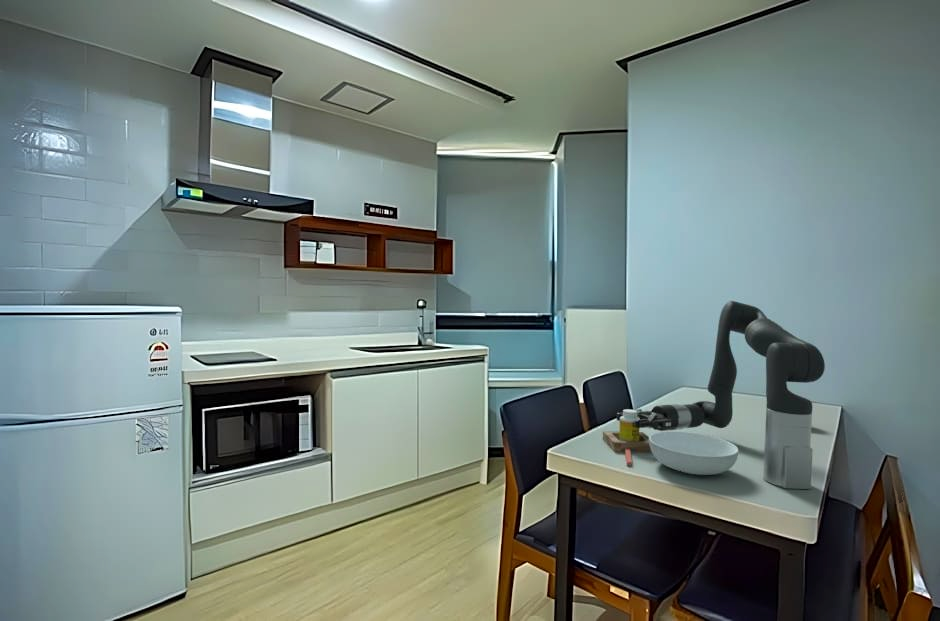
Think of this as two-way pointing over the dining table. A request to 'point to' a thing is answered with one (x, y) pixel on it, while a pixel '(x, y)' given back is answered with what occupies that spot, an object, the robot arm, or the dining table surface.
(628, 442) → the brown wooden square frame
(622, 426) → the supplement bottle
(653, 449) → the serving bowl
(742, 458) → the dining table surface
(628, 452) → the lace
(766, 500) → the dining table surface
